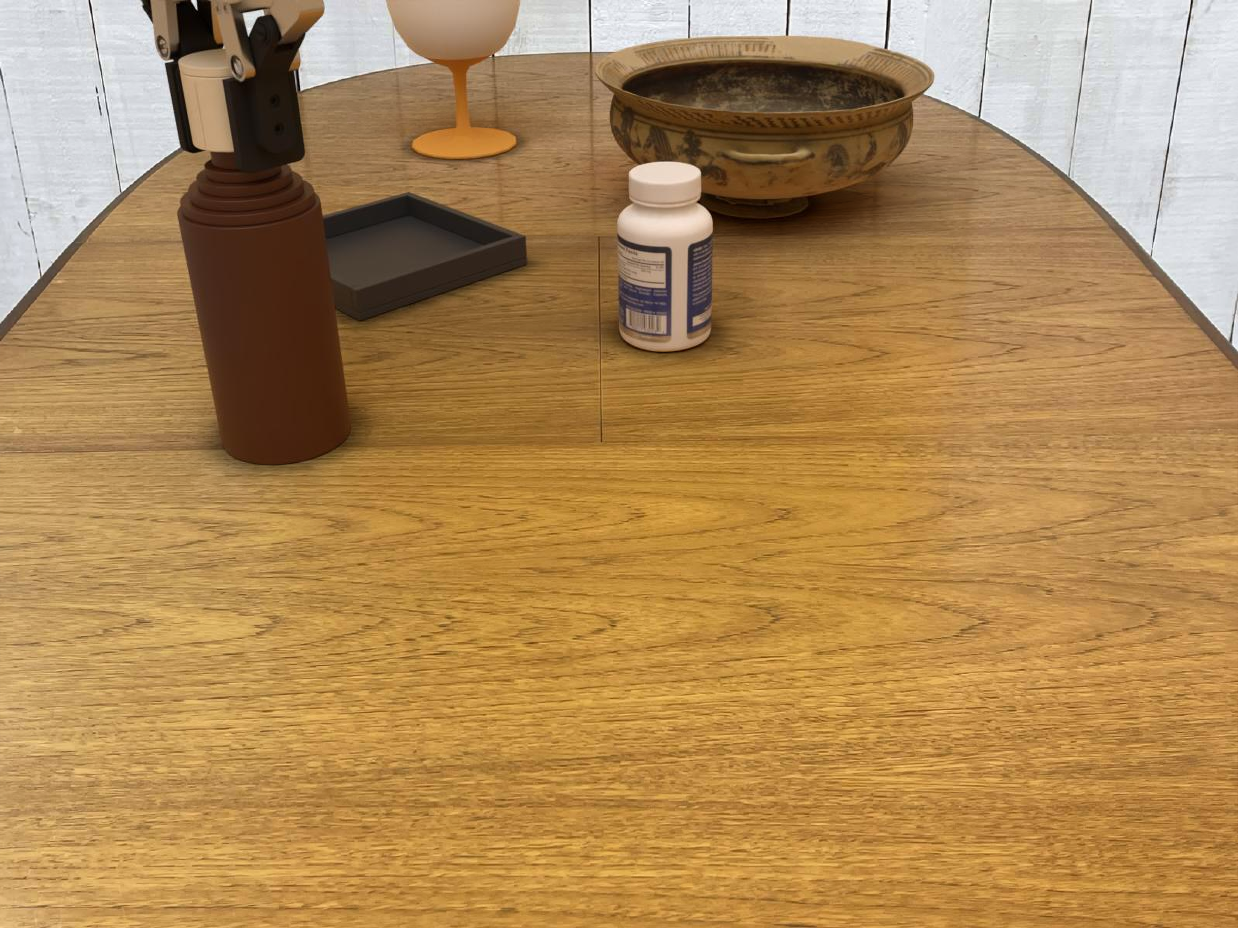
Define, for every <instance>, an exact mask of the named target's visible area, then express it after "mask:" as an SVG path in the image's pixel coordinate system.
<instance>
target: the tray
mask: <svg viewBox="0 0 1238 928" xmlns="http://www.w3.org/2000/svg"><path fill="white" fill-rule="evenodd" d="M322 215H323V223H324V230H325V238H326V245H327V252H328V260H329V267H330V274H331V282H332V289H333V296H334V304H335V310H338V311H339V312H342V313H343V314H346V315H347V316H350V317H352V318H353V319H355V320H358V321H359V322H360V321H364V320H367V319H370V318H373V317H377V316H378V315H382V314H384V313H387V312H391V311H393V310H397V309H399V308H402V307H406V306H408V305H411V304H414V303H417V302H419V301H423V300H427V299H428V298H431V297H434V296H438V295H440V294H444V293H446V292H449V291H451V290H455V289H458V288H461V287H463V286H468V285H470V284H472V283H476V282H478V281H479V282H480V281H481V280H482V281H483V280H485V279H487V278H490V277H493V276H497V275H500V274H502V273H505V272H508V271H512V270H514V269H517V268H520V267H522V266H526V265H528V258H527V254H528V253H527V237H526V235H525V234H522V233H519V232H517V231H514V230H511V229H508V228H506V227H503V226H502V225H501V226H500V225H498V224H495V223H492V222H490V221H487V220H484V219H482V218H479V217H477V216H474V215H472V214H468V213H466V212H464V211H462V210H461V211H460V210H458V209H456V208H452V207H450V206H448V205H445V204H442V203H439V202H437V201H434V200H431V199H429V198H426V197H425V196H424V197H423V196H421V195H418V194H416V193H413V192H411V191H407V192H403V193H399V194H395V195H393V196H388V197H385V198H381V199H377V200H374V201H371V202H367V203H363V204H360V205H356V206H352V207H349V208H344V209H342V210H338V211H334V212H330V213H326V214H322Z"/></svg>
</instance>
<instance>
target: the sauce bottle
mask: <svg viewBox="0 0 1238 928" xmlns="http://www.w3.org/2000/svg"><path fill="white" fill-rule="evenodd" d="M209 153H210V159H209V160H207V161H206V162H205V163H204V164H203V169H202V170H200V171H199V172H198V173H197V174H196V175H195V180H194V181H192V182H191V184H190V185H189V186H188V188H187V191H186V192H185V193H184V194H183V195H182V196H181V197H180V200H179V204H180V206H179V207H178V208H177V212H176V215H177V221H178V226H179V231H180V238H181V241H182V247H183V252H184V256H185V262H186V268H187V273H188V278H189V283H190V287H191V288H190V289H191V292H192V297H193V303H194V308H195V313H196V318H197V323H198V329H199V334H200V338H201V343H202V348H203V354H204V359H205V364H206V368H207V373H208V379H209V384H210V389H211V395H212V399H213V404H214V410H215V415H216V420H217V425H218V430H219V436H220V440H221V445H222V447H223V449H224V450H225V451H226V453H227V454H228V455H230V456H231V457H233V458H235V459H237V460H240V461H242V462H246V463H250V464H258V465H286V464H292V463H299V462H303V461H307V460H310V459H314V458H317V457H319V456H322V455H325V454H326V453H329V452H330V451H333V450H334V449H336V448H338V446H340V445H341V444H342V443H343V442H344V441H345V440H346V439H347V438H348V436H349V434H350V432H351V429H352V423H351V415H350V408H349V401H348V393H347V384H346V379H345V377H346V376H345V371H344V365H343V356H342V350H341V349H342V348H341V341H340V335H339V328H338V319H337V312H336V308H335V304H334V296H333V289H332V282H331V274H330V267H329V260H328V252H327V245H326V238H325V230H324V223H323V215H324V214H323V209H322V203H321V201H322V200H321V198H320V195H319V194H317V193H316V192H315V188H314V186H313V185H312V183H310V182H309V181H307V180H305V179H303V176H302V175H301V174H299V173H298V172H296V171H293V169H292V167H291V166H290V164H287V165H283V166H279V167H275V168H272V169H268V170H264V171H260V172H257V173H253V174H248V173H245V172H242V171H240V170H239V169H238V168H237V165H236V160H235V154H234V152H211V151H209Z"/></svg>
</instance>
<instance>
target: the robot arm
mask: <svg viewBox="0 0 1238 928" xmlns="http://www.w3.org/2000/svg"><path fill="white" fill-rule="evenodd" d="M140 2H141V3H142V4H141V7H142V10H143V12H145V14H146V15H147V17H148V19H149V20H150V22H151V23H152V27H153V28H152V29H153V37H154V46H155V48H156V52H157V53H158V56H159V57H160V59H162V60H163V61H165V62H164V68H165V74H166V78H167V85H168V90H169V94H170V100H171V105H172V110H173V117H174V121H175V127H176V131H177V137H178V143H179V146H180V148H181V149H182V151H185V152H187V153H190V154H197V153H201V152H205V151H206V150H201V149H199V148H197V147H195V146H194V144H193V140H192V135H191V130H190V124H189V119H188V113H187V108H186V102H185V97H184V91H183V86H182V80H181V75H180V69H179V64H178V61H179V59H180V58H182V57H184V56H186V55H189V54H192V53H197V52H201V51H207V50H215V49H225V52H226V56H227V60H228V64H229V68H230V71H231V73H232V75H233V77H232V78H227V79H222V82H223V88H224V94H225V100H226V106H227V112H228V118H229V124H230V130H231V136H232V142H233V148H234V154H235V160H236V165H237V168H238V169H239V170H240V171H242V172H245V173H248V174H253V173H257V172H260V171H264V170H268V169H272V168H275V167H279V166H283V165H290V164H293V163H297V162H298V163H299V162H301V161H302V160H303V159H304V158H305V154H306V148H305V140H304V133H303V127H302V119H301V110H300V105H299V103H300V102H299V97H298V90H297V82H296V75H295V72H296V71H297V70H299V69H300V66H301V62H302V61H301V60H302V59H301V53H300V48H301V46H302V44H303V42H304V40H305V38H306V33H308V32H309V31H310V30H311V29H312V28H313V27H314V25H316V24H317V22H318V21H319V20H320V19H321V18H322V17H323V16H324V14H325V2H324V0H196V6H195V5H194V3H193V0H140ZM258 11H262V12H263V15H259V16H258V17H257V18H256V19H255V21H254V22H253V25H252V28H251V30H250V32H249V34H248V28H247V25H246V20H245V17H244V14H246V13H253V12H258ZM166 61H167V62H166ZM206 152H207V151H206Z"/></svg>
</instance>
